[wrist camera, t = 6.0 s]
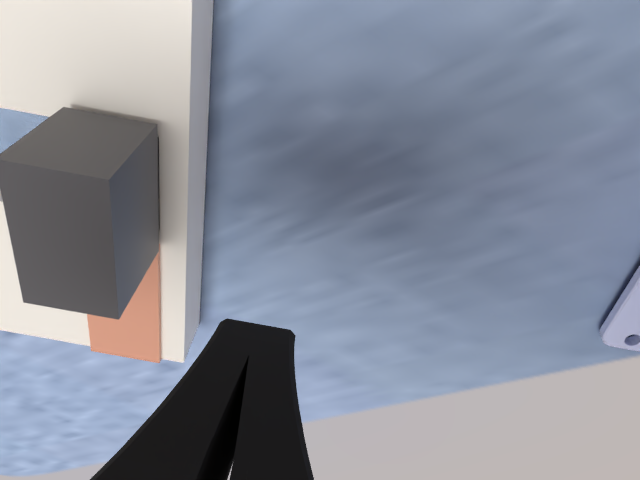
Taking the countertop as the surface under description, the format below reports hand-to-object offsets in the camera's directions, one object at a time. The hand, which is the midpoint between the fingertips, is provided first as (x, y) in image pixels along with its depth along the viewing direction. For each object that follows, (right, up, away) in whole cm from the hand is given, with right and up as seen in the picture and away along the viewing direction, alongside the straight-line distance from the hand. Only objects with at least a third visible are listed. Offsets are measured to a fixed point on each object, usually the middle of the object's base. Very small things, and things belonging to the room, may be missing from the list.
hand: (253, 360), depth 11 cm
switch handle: (-4, +5, +6) cm, 9 cm away
